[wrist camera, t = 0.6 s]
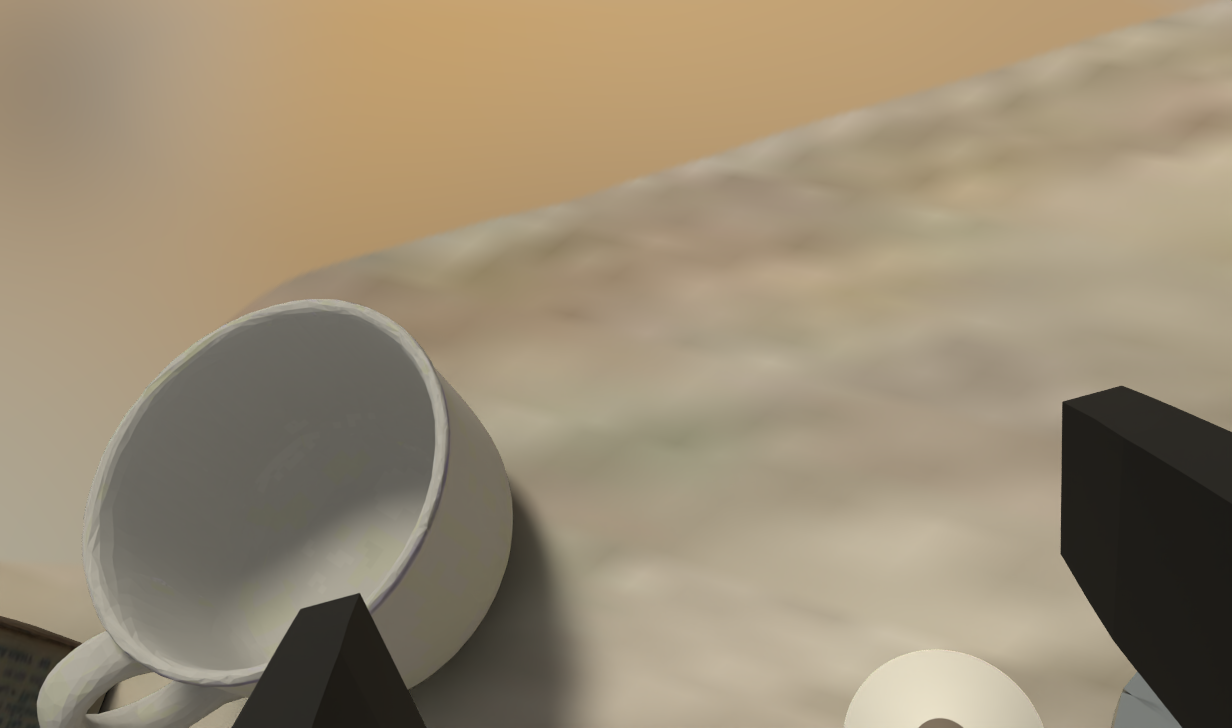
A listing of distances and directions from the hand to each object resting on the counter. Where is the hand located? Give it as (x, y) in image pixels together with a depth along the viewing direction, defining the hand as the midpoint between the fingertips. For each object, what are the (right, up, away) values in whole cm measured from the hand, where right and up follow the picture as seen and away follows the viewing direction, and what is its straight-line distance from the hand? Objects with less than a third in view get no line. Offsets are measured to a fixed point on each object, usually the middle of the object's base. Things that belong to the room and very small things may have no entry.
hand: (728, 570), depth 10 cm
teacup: (-9, -6, +22) cm, 25 cm away
